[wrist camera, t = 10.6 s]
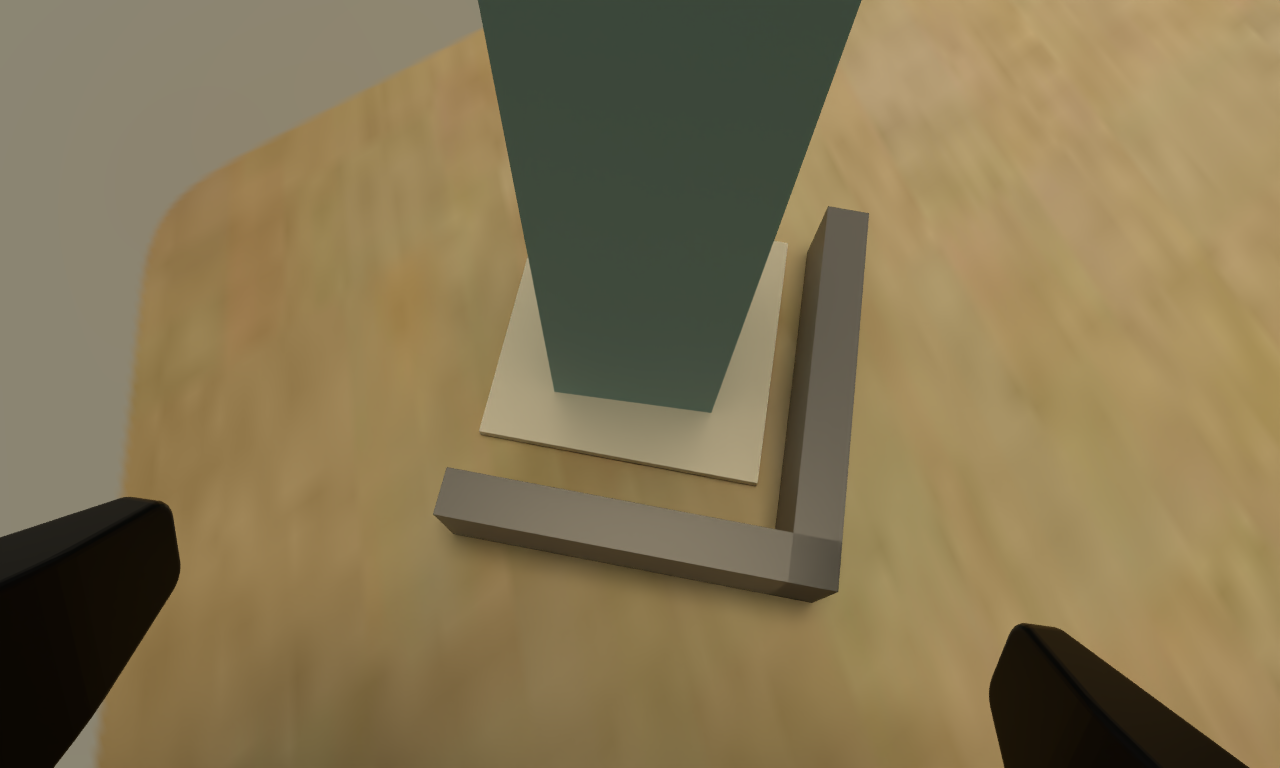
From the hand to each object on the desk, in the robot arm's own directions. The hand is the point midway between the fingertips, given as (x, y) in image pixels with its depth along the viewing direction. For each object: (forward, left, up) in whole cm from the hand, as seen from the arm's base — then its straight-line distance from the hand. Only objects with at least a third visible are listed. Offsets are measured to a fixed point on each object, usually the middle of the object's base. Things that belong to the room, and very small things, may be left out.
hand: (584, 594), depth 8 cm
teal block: (+9, +1, -12) cm, 15 cm away
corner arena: (+8, 0, -12) cm, 15 cm away
